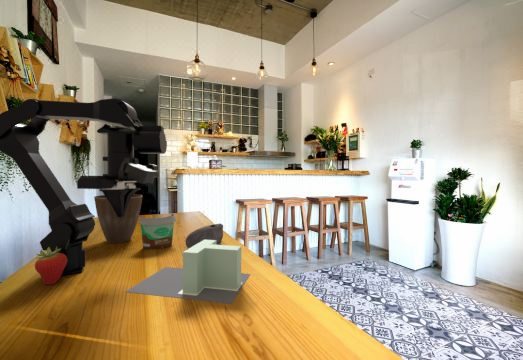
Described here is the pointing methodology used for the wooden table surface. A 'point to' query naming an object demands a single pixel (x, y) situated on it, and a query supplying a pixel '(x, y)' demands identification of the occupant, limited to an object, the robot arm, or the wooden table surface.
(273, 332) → the wooden table surface
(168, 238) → the food container
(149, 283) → the mat
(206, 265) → the t block
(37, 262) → the fruit
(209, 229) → the perforated stone tool
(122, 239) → the plant pot
